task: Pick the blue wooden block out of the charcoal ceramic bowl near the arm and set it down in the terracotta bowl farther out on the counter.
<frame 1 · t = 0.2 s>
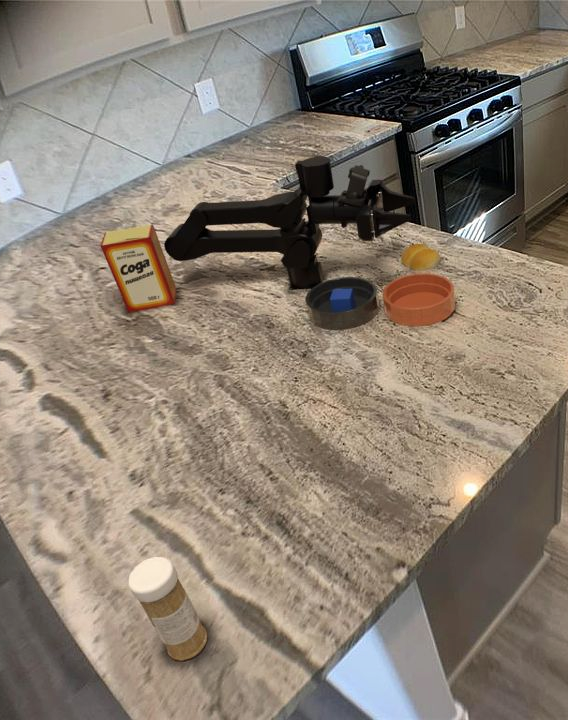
hand: (412, 208, 135), 16 cm above the worktop, tool horizontal, fingers open, 9 cm apart
terracotta bowl: (420, 309, 135), on the worktop
sprinkles bottle: (189, 644, 77), on the worktop
blue block: (344, 310, 135), point 1 cm above the worktop, touching charcoal bowl
charcoal bowl: (344, 313, 135), on the worktop
bread roll: (421, 264, 151), on the worktop
baking soda box: (153, 301, 144), on the worktop
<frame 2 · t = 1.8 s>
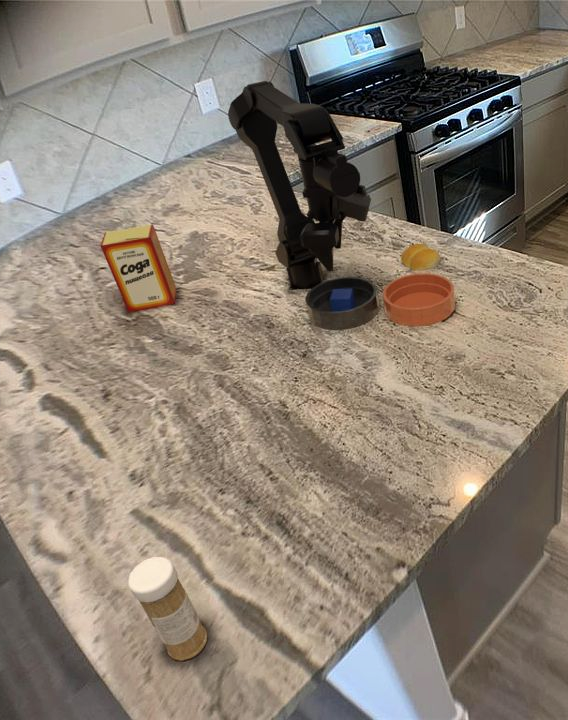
hand: (334, 259, 128), 12 cm above the worktop, tool pointing down, fingers open, 9 cm apart
nothing on the worktop moved.
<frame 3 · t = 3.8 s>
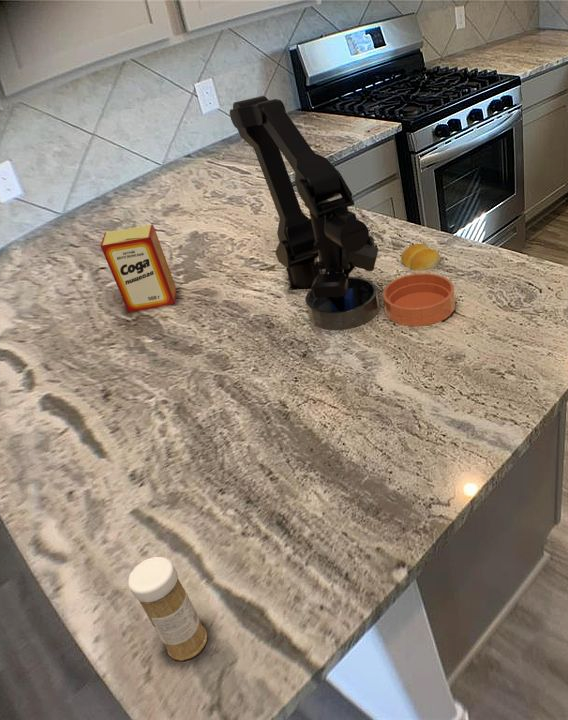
hand: (343, 304, 134), 2 cm above the worktop, tool pointing down, fingers closed on blue block, 4 cm apart
blue block: (344, 310, 135), point 1 cm above the worktop, touching charcoal bowl, gripper
everything else where it was.
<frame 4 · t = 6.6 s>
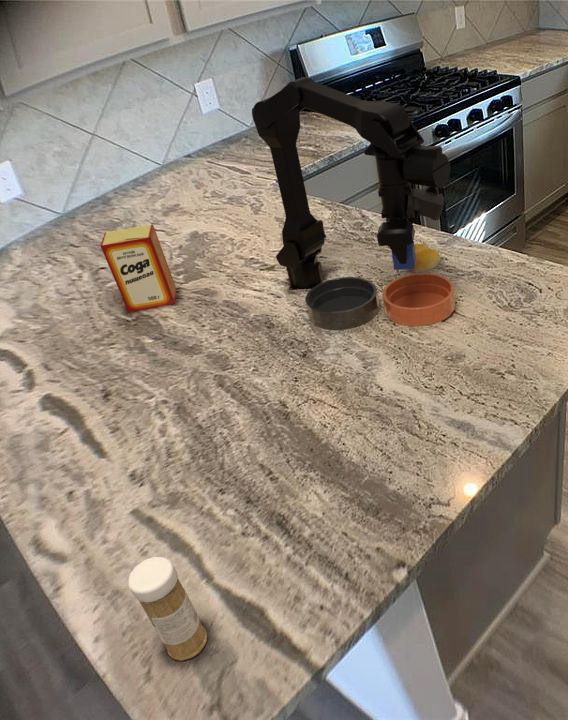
hand: (404, 258, 128), 12 cm above the worktop, tool pointing down, fingers closed on blue block, 4 cm apart
blue block: (405, 264, 129), point 10 cm above the worktop, touching gripper
everything else where it was.
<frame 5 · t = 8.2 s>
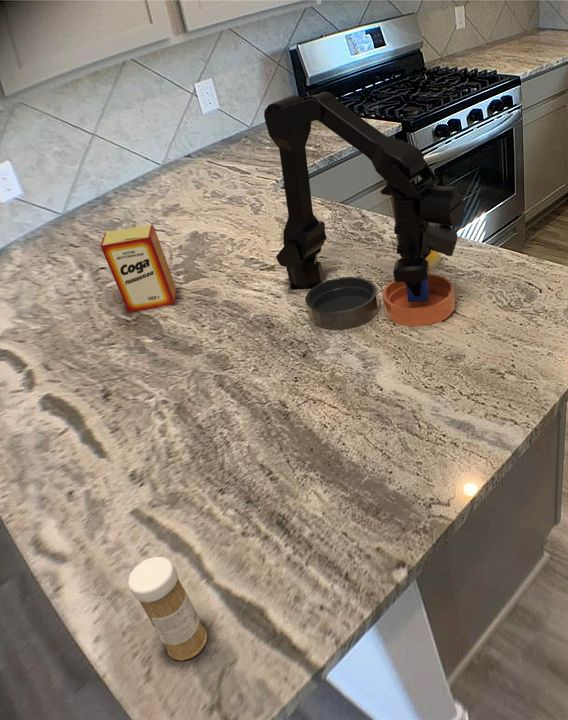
hand: (418, 290, 132), 4 cm above the worktop, tool pointing down, fingers closed on blue block, 4 cm apart
blue block: (418, 296, 133), point 3 cm above the worktop, touching gripper
everything else where it was.
when the fingers open (2 cm above the worktop, at t = 9.3 s): blue block stays where it is, resting on terracotta bowl.
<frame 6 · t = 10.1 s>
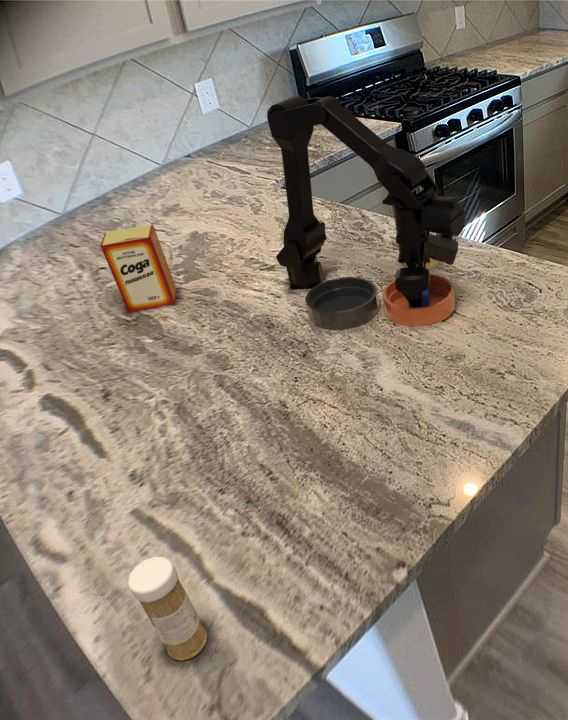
hand: (419, 298, 133), 3 cm above the worktop, tool pointing down, fingers open, 9 cm apart
blue block: (420, 307, 134), point 1 cm above the worktop, touching terracotta bowl
everything else where it was.
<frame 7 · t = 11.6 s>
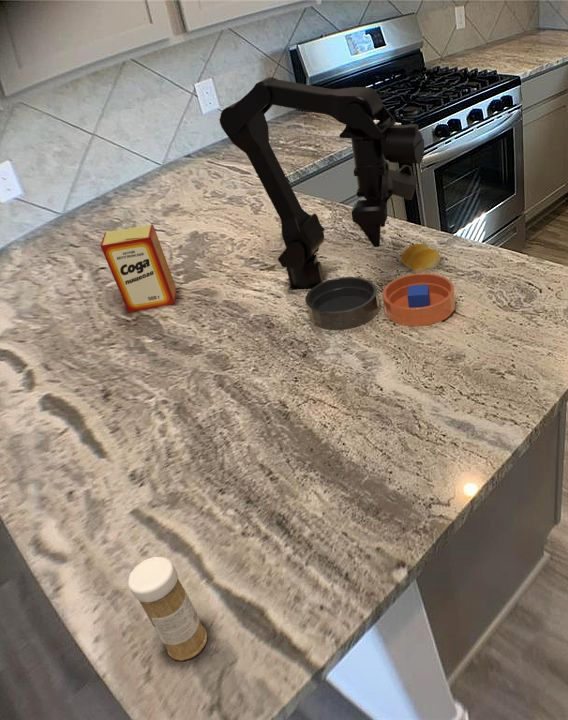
hand: (379, 236, 134), 13 cm above the worktop, tool pointing down, fingers open, 9 cm apart
nothing on the worktop moved.
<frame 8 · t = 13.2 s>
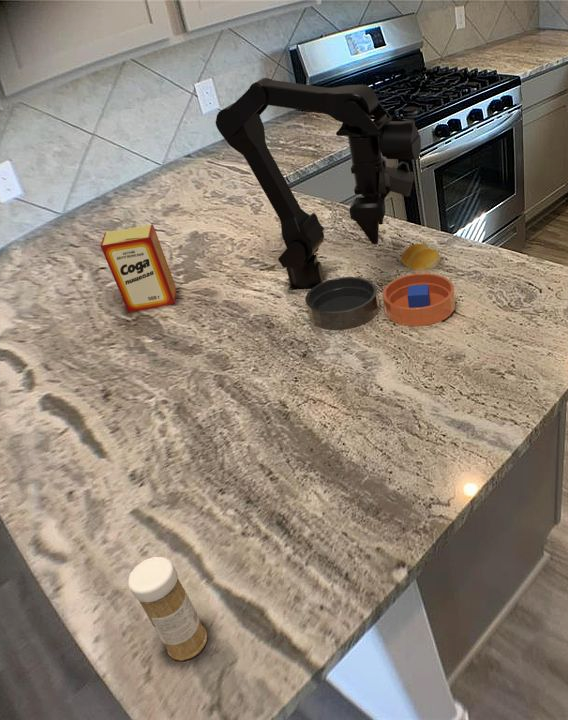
hand: (377, 233, 134), 13 cm above the worktop, tool pointing down, fingers open, 9 cm apart
nothing on the worktop moved.
at the end: blue block inside the target area in the terracotta bowl (0.0 cm from its centre), point 0.6 cm above the terracotta bowl's base; the gripper is holding nothing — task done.
